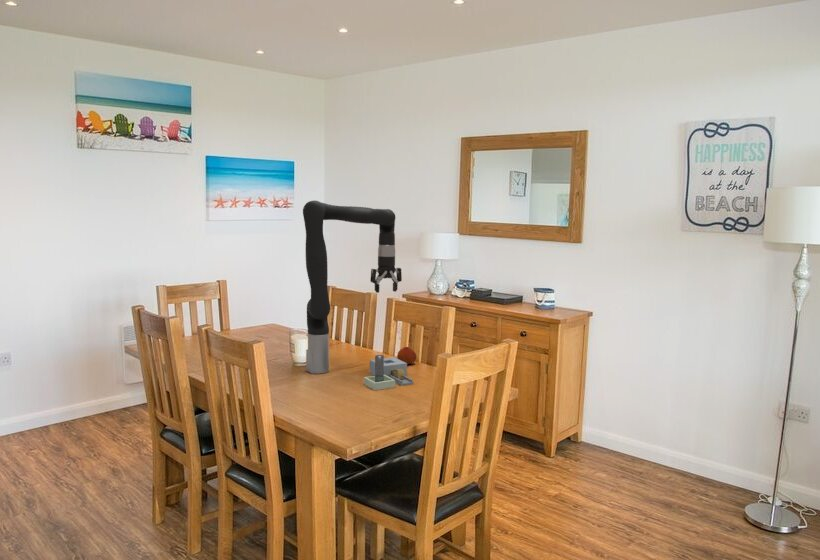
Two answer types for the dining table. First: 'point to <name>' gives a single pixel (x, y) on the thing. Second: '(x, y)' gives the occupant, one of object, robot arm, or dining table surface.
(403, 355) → the fruit
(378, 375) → the drill peg
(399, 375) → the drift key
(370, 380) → the tray
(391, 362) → the socket block
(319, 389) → the dining table surface
